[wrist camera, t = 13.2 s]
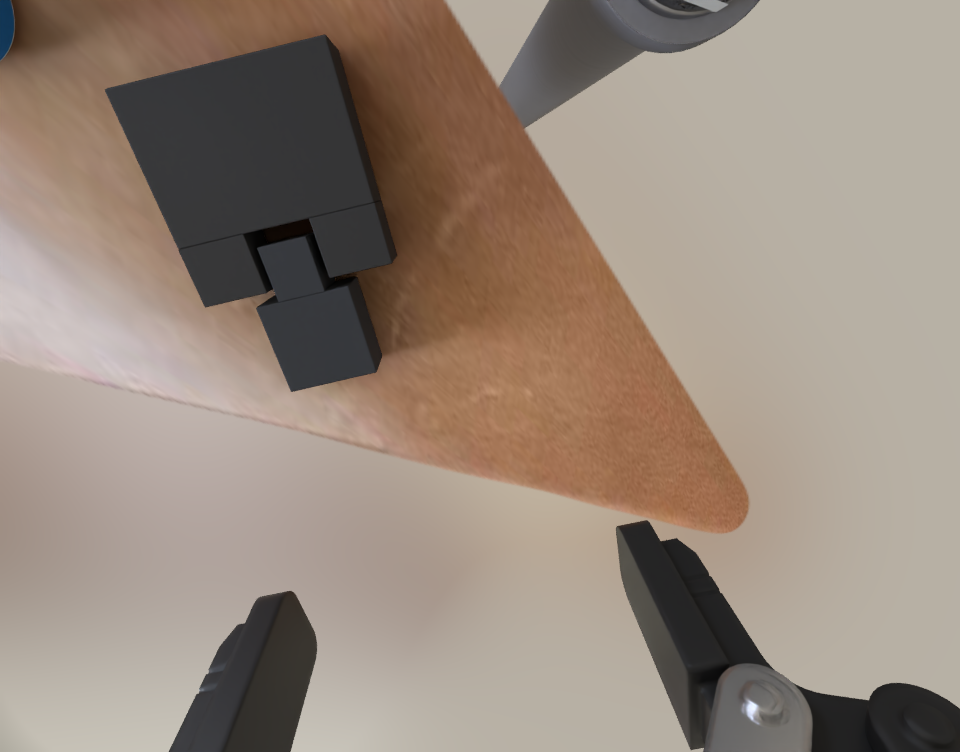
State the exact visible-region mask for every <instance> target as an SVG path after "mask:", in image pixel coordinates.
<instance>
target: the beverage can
mask: <svg viewBox="0 0 960 752" xmlns="http://www.w3.org/2000/svg"><path fill="white" fill-rule="evenodd" d="M14 33H15V17H14V10H13V6H12V2H11V0H0V61H1V60H2V59H3V58H4V57H5V56H6V54H7V53H8V51H9V50H10V47H11V45H12V42H13V39H14Z"/></svg>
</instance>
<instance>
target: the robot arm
mask: <svg viewBox="0 0 960 752" xmlns="http://www.w3.org/2000/svg"><path fill="white" fill-rule="evenodd" d="M638 1H639V2H640V3H641V4H642V5H643V6H644V7H646V8H647V9H649V10H650V11H652V12H654V13H656V14H658V15H660V16H663V17H666V18H671V19H682V20H683V19H693V18H698V17H701V16H704V15H707V14H709V13H712V12H717V11H719V10H721V9H722V8H724V7H725V6H727V5H729V4H727V3H729V2H730V1H732V0H638ZM616 535H617V544H618V553H619V561H620V571H621V576H622V581H623V585H624V588H625V592H626V595H627V597H628V600H629V603H630V605H631V607H632V610H633V612H634V615H635V617H636V619H637V622H638V624H639V627H640V629H641V631H642V634H643V636H644V638H645V641H646V643H647V646H648V648H649V651H650V653H651V656H652V658H653V660H654V662H655V665H656V668H657V670H658V672H659V675H660V677H661V679H662V682H663V684H664V687H665V689H666V691H667V694H668V696H669V699H670V701H671V704H672V706H673V708H674V711H675V713H676V715H677V718H678V721H679V723H680V725H681V727H682V730H683V733H684V735H685V737H686V740H687V742H688V744H689V747H690V749H691V750H693V749H699V748H704V751H703V752H960V709H959V708H958V707H957V706H955V705H954V704H953V703H951V702H950V701H948V700H947V699H945V698H943V697H941V696H939V695H938V694H935V693H934V692H931V691H929V690H927V689H924V688H921V687H918V686H915V685H910V684H904V683H890V684H885V685H882V686H880V687H878V688H877V689H876V690H875V691H873V693H872V695H871V696H870V699H869V700H862V699H855V698H848V697H841V696H834V695H827V694H821V693H816V692H813V691H810V690H807V689H804V688H802V687H800V686H797V685H796V684H794V683H792V682H791V681H790V680H789V679H787V678H786V677H784V676H783V675H782V674H780V673H778V672H777V671H775V670H774V669H773V668H772V667H771V666H770V665H769V664H768V663H767V662H766V660H765V659H764V658H763V656H762V655H761V653H760V652H759V650H758V649H757V647H756V646H755V644H754V642H753V641H752V639H751V638H750V636H749V635H748V633H747V632H746V630H745V628H744V627H743V625H742V624H741V622H740V621H739V619H738V618H737V616H736V615H735V613H734V611H733V610H732V608H731V607H730V605H729V604H728V602H727V601H726V599H725V598H724V596H723V594H722V593H720V591H719V588H718V587H717V585H716V583H715V582H714V580H713V579H712V577H711V576H709V573H708V571H707V569H706V568H705V566H704V565H703V563H702V562H701V560H700V559H699V557H698V556H697V554H696V553H695V552H694V551H693V550H691V549H690V548H688V547H687V546H686V545H685V544H683V543H682V542H681V541H679V540H678V539H677V538H676V539H671V540H666V541H660V540H659V538H658V536H657V534H656V533H655V531H654V529H653V527H652V526H651V525H650V523H649V522H648V521H647V520H645V521H640V522H636V523H631V524H626V525H621V526H617V527H616ZM316 654H317V642H316V636H315V632H314V630H313V628H312V626H311V624H310V622H309V620H308V618H307V616H306V614H305V612H304V610H303V608H302V606H301V604H300V602H299V600H298V598H297V597H296V595H295V594H294V592H292V591H287V592H282V593H277V594H272V595H267V596H262V597H259V598H258V599H257V600H256V601H255V603H254V605H253V607H252V609H251V612H250V614H249V616H248V618H247V620H246V623H245V624H239V625H237V626H236V628H235V629H234V630H233V631H232V632H231V634H230V635H229V636H228V637H227V639H226V640H225V641H224V642H223V643H222V644H221V646H220V647H219V649H218V651H217V653H216V655H215V657H214V659H213V662H212V664H211V666H210V668H209V673H208V674H206V676H205V678H204V680H203V682H202V684H201V687H200V688H199V690H200V691H199V694H197V695H196V697H195V699H194V701H193V703H192V705H191V707H190V709H189V711H188V713H187V715H186V717H185V719H184V722H183V724H182V726H181V728H180V730H179V732H178V734H177V736H176V738H175V740H174V742H173V744H172V746H171V748H170V750H169V752H290V751H291V748H292V744H293V740H294V737H295V732H296V729H297V726H298V722H299V718H300V715H301V711H302V707H303V704H304V700H305V697H306V693H307V689H308V685H309V682H310V678H311V675H312V671H313V668H314V664H315V660H316Z"/></svg>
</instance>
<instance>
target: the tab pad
mask: <svg viewBox="0 0 960 752" xmlns="http://www.w3.org/2000/svg"><path fill="white" fill-rule="evenodd" d="M257 249H258V251H259V254H260V256H261V259H262V261H263V264H264V266H265V269H266V271H267V274H268V276H269V279H270V281H271V284H272V287H273V289H274V292H275V294H276V296H273V297H271V298H270V299H268V300H267V301H266V302H264V303H263V304H261V305H260V306H258V307H257V308H256V309H257V312H258V314H259V316H260V319H261V321H262V323H263V326H264V328H265V331H266V333H267V335H268V338H269V340H270V343H271V345H272V347H273V350H274V352H275V354H276V357H277V359H278V362H279V364H280V366H281V369H282V371H283V374H284V376H285V378H286V381H287V383H288V385H289V388H290V390H291V392H293V391H298V390H302V389H306V388H311V387H315V386H319V385H323V384H328V383H332V382H336V381H341V380H345V379H349V378H354V377H358V376H362V375H367V374H371V373H375V372H377V370H378V367H379V364H380V361H381V358H382V353H381V350H380V347H379V344H378V340H377V337H376V334H375V331H374V328H373V325H372V322H371V319H370V316H369V313H368V310H367V306H366V303H365V300H364V297H363V294H362V291H361V288H360V285H359V282H358V279H357V277H353V278H348V279H344V280H340V281H336V282H335V278H334V277H332V278H330V277H329V275H328V272H327V269H326V266H325V263H324V260H323V257H322V255H321V252H320V249H319V246H318V243H317V240H316V237H315V234H314V232H312V233H308V234H304V235H299V236H295V237H291V238H287V239H283V240H278V241H275V242H272V243H269V244H266V245H264V246H261V247H258V248H257Z"/></svg>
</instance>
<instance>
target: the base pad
mask: <svg viewBox="0 0 960 752" xmlns="http://www.w3.org/2000/svg"><path fill="white" fill-rule="evenodd" d="M105 92H106V94H107V96H108V98H109V100H110V102H111V104H112V107H113V109H114V111H115V113H116V115H117V117H118V120H119V122H120V124H121V126H122V128H123V130H124V133H125V135H126V137H127V139H128V141H129V143H130V146H131V148H132V150H133V152H134V154H135V156H136V158H137V161H138V163H139V165H140V167H141V169H142V171H143V174H144V176H145V178H146V180H147V182H148V184H149V187H150V189H151V191H152V193H153V195H154V197H155V200H156V202H157V204H158V206H159V208H160V210H161V212H162V215H163V217H164V219H165V221H166V223H167V225H168V228H169V230H170V232H171V234H172V236H173V238H174V241H175V243H176V245H177V247H178V249H179V252H180V254H181V257H182V259H183V261H184V263H185V265H186V267H187V269H188V272H189V274H190V276H191V278H192V280H193V282H194V285H195V287H196V289H197V291H198V293H199V295H200V298H201V300H202V302H203V304H204V306H205V307H209V306H213V305H218V304H222V303H226V302H230V301H235V300H239V299H243V298H247V297H252V296H256V295H260V294H264V293H267V292H269V291H270V290H272V289H273V287H272V284H271V281H270V279H269V276H268V274H267V271H266V269H265V266H264V264H263V261H262V259H261V256H260V254H259V251H258V249H257V248H258V247H261V246H264V245H266V244H268V243H267V240H266V237H265V235H264V232H263V230H262V229H266V228H271V227H275V226H279V225H283V224H287V223H291V222H296V221H300V220H304V219H308V218H309V220H310V223H311V226H312V229H313V231H314V234H315V237H316V240H317V243H318V246H319V249H320V252H321V255H322V257H323V260H324V263H325V266H326V269H327V272H328V275H329V277H330V278H332V277H336V276H340V275H345V274H349V273H353V272H357V271H362V270H366V269H370V268H374V267H379V266H383V265H387V264H391V263H392V262H393V261H394V259H395V258H396V256H397V253H396V250H395V246H394V243H393V239H392V236H391V232H390V229H389V225H388V222H387V218H386V215H385V211H384V208H383V204H382V201H380V200H381V198H380V194H379V191H378V187H377V183H376V180H375V176H374V173H373V169H372V166H371V162H370V159H369V155H368V152H367V148H366V145H365V141H364V138H363V134H362V131H361V127H360V124H359V120H358V117H357V113H356V110H355V106H354V103H353V99H352V96H351V92H350V89H349V85H348V82H347V78H346V74H345V71H344V67H343V64H342V60H341V57H340V53H339V50H338V49H337V48H336V47H335V46H334V44H333V43H332V42H331V41H330V39H329V38H328V37H327V36H326V35H321V36H317V37H313V38H309V39H305V40H301V41H297V42H292V43H288V44H284V45H280V46H276V47H272V48H268V49H264V50H260V51H256V52H252V53H248V54H244V55H240V56H236V57H232V58H228V59H224V60H220V61H216V62H212V63H208V64H204V65H200V66H196V67H192V68H188V69H184V70H180V71H175V72H171V73H167V74H163V75H159V76H155V77H151V78H147V79H143V80H139V81H135V82H131V83H127V84H123V85H119V86H115V87H111V88H107V89H105Z"/></svg>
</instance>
